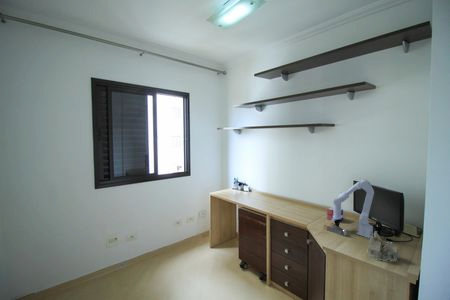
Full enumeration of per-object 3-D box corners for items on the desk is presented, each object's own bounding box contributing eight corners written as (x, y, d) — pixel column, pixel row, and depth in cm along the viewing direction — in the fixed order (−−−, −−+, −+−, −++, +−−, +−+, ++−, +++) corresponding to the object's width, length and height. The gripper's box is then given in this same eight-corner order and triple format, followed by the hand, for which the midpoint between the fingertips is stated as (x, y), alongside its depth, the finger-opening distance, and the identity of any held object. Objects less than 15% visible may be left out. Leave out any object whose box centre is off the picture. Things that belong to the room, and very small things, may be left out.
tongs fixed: (347, 235, 170) (347, 230, 170) (345, 236, 168) (345, 231, 168) (325, 228, 184) (325, 223, 184) (323, 229, 183) (323, 224, 182)
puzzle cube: (337, 222, 197) (337, 211, 197) (327, 218, 206) (327, 208, 205) (343, 219, 203) (343, 209, 202) (332, 216, 211) (332, 206, 211)
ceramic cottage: (362, 254, 142) (364, 232, 141) (373, 248, 151) (376, 228, 150) (390, 267, 129) (393, 244, 128) (400, 260, 138) (403, 237, 137)
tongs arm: (345, 234, 172) (345, 230, 172) (343, 234, 172) (343, 230, 171) (332, 226, 187) (332, 222, 186) (330, 227, 186) (330, 223, 186)
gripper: (337, 209, 189) (336, 224, 190) (328, 212, 180) (328, 228, 181) (345, 211, 183) (344, 226, 184) (336, 214, 175) (336, 231, 175)
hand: (337, 227), depth 182 cm, fingers closed
